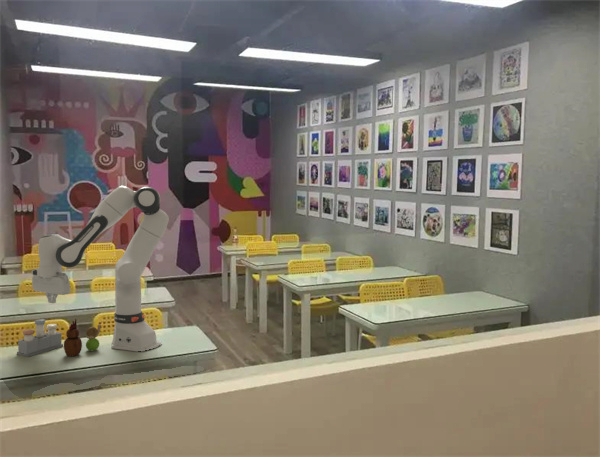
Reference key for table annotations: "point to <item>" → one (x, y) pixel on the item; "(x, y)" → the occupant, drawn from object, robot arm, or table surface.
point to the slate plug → (40, 328)
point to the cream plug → (51, 329)
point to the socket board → (39, 345)
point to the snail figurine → (92, 338)
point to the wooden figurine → (72, 341)
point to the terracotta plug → (28, 335)
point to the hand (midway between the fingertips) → (52, 302)
